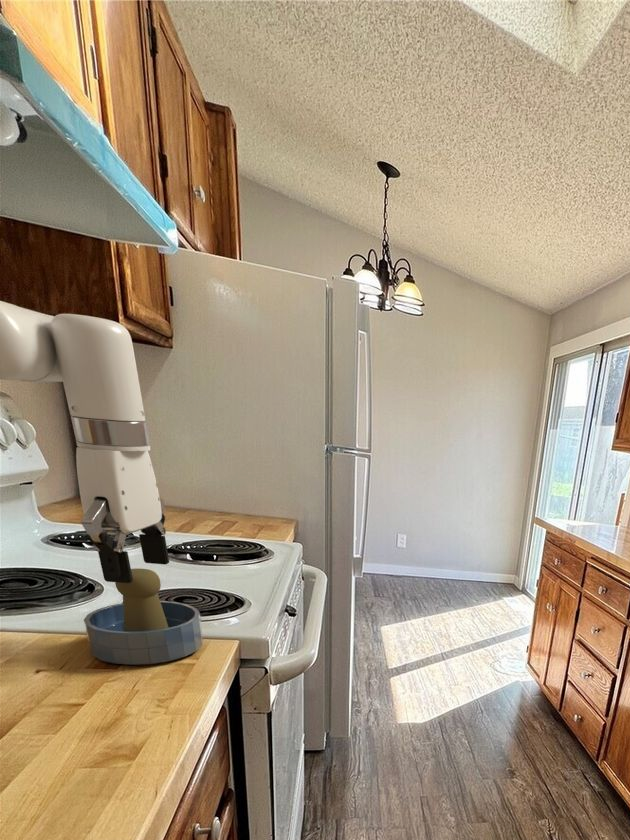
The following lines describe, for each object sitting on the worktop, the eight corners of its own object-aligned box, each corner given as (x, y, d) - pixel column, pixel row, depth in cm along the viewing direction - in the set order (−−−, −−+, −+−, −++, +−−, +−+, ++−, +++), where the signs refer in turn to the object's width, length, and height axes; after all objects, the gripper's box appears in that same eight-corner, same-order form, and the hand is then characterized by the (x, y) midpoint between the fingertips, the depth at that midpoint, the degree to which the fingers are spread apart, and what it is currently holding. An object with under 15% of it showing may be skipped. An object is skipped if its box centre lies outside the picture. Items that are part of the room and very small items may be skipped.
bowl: (69, 664, 73) (60, 628, 71) (125, 628, 85) (119, 597, 83) (178, 671, 75) (172, 636, 73) (218, 635, 87) (214, 604, 85)
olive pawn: (128, 656, 76) (113, 578, 71) (120, 641, 80) (105, 566, 75) (178, 649, 80) (166, 574, 75) (168, 635, 84) (156, 563, 79)
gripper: (119, 430, 75) (142, 555, 83) (29, 434, 60) (68, 588, 67) (177, 436, 76) (195, 559, 84) (104, 441, 61) (134, 592, 68)
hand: (139, 572), depth 75 cm, fingers open, 9 cm apart
